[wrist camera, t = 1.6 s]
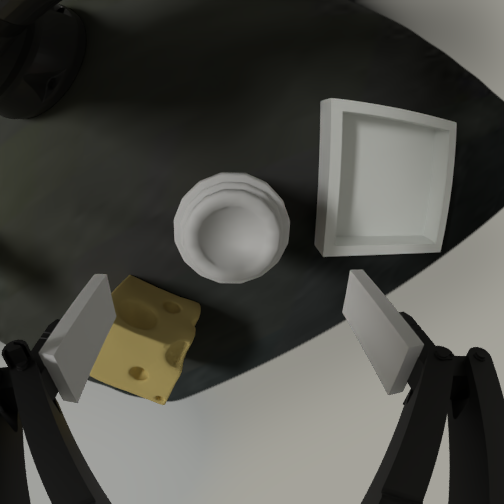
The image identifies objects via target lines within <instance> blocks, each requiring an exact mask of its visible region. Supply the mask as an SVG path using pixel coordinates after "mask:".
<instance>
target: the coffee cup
mask: <svg viewBox="0 0 504 504" xmlns="http://www.w3.org/2000/svg"><path fill="white" fill-rule="evenodd" d="M289 230H290V220H289V217H288V214H287V211H286V208H285V205H284V202H283V200H282V199H281V198H280V196H279V195H278V194H277V193H276V192H275V191H274V190H273V189H272V188H271V187H270V185H269V184H268V183H267V182H265V181H263V180H260V179H258V178H256V177H254V176H252V175H249V174H247V173H237V172H221V173H218V174H216V175H213V176H210V177H208V178H205V179H203V180H200V181H199V182H198V183H197V184H196V185H195V186H194V187H193V188H192V189H191V190H190V191H189V192H188V193H187V194H186V195H185V196H184V197H183V198H182V200H181V203H180V205H179V208H178V210H177V213H176V215H175V218H174V238H175V243H176V245H177V248H178V250H179V252H180V254H181V256H182V258H183V260H184V261H185V262H186V263H187V264H188V265H189V266H190V267H191V268H192V269H193V270H195V271H196V272H197V273H198V274H199V275H200V276H203V277H205V278H208V279H211V280H213V281H216V282H219V283H244V282H246V281H249V280H252V279H255V278H258V277H260V276H262V275H264V274H265V273H266V272H267V271H268V270H269V269H271V268H272V267H273V266H274V265H275V264H277V263H278V261H279V260H280V258H281V256H282V254H283V252H284V250H285V248H286V246H287V245H288V240H289Z"/></svg>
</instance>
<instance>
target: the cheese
mask: <svg viewBox="0 0 504 504" xmlns="http://www.w3.org/2000/svg"><path fill="white" fill-rule="evenodd" d="M111 296H112V300H113V305H114V309H115V313H116V319H115V321H114V323H113V325H112V327H111V329H110V331H109V333H108V335H107V337H106V339H105V341H104V344H103V346H102V348H101V350H100V352H99V354H98V357H97V359H96V361H95V363H94V365H93V368H92V370H91V372H90V376H91V377H93V378H95V379H97V380H99V381H102V382H104V383H106V384H109V385H112V386H114V387H117V388H120V389H122V390H125V391H128V392H130V393H133V394H136V395H138V396H141V397H143V398H146V399H148V400H151V401H153V402H156V403H159V404H162V405H165V403H166V401H167V399H168V397H169V395H170V393H171V391H172V389H173V387H174V385H175V383H176V382H177V380H178V378H179V376H180V374H181V372H182V367H183V361H184V358H185V355H186V353H187V351H188V349H189V347H190V345H191V344H192V342H193V340H194V337H195V331H196V328H195V324H196V322H197V321H198V319H199V316H200V312H201V307H200V304H199V303H197V302H194V301H192V300H188V299H185V298H182V297H179V296H176V295H174V294H172V293H169V292H167V291H165V290H162V289H160V288H158V287H155V286H153V285H151V284H149V283H146V282H144V281H142V280H140V279H138V278H136V277H134V276H132V275H129V276H128V277H127V278H126V279H125V280H124V281H123V282H122V283H121V284H120V285H119V286H118V287H117V288H116V289H115V290H114V291H113V292H112V293H111Z"/></svg>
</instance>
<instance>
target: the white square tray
mask: <svg viewBox="0 0 504 504" xmlns="http://www.w3.org/2000/svg"><path fill="white" fill-rule="evenodd" d="M456 125H457V123H456V122H453V121H449V120H445V119H442V118H438V117H434V116H430V115H426V114H422V113H417V112H413V111H408V110H404V109H399V108H394V107H388V106H383V105H377V104H371V103H365V102H358V101H351V100H343V99H335V98H330V99H326V100H323V101H320V153H319V178H318V197H317V214H316V228H315V241H314V245H315V246H316V248H317V249H318V250H319V252H320V253H321V255H322V256H323V257H330V256H357V255H384V254H409V253H433V252H440V251H441V247H442V242H443V237H444V232H445V227H446V221H447V215H448V209H449V203H450V196H451V188H452V180H453V171H454V160H455V147H456Z"/></svg>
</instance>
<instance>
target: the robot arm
mask: <svg viewBox="0 0 504 504" xmlns="http://www.w3.org/2000/svg"><path fill="white" fill-rule="evenodd" d="M60 1H62V0H0V115H1V116H3V117H6V118H10V119H26V118H32V117H35V116H37V115H40V114H42V113H43V112H45V111H47V110H48V109H49V108H51V107H52V106H53V105H54V104H55V103H57V102H58V100H59V99H60V98H61V97H62V96H63V95H64V94H65V92H66V91H67V90H68V88H69V87H70V85H71V84H72V82H73V81H74V79H75V77H76V75H77V73H78V71H79V68H80V66H81V63H82V60H83V57H84V52H85V46H86V32H85V28H84V25H83V22H82V20H81V19H80V17H79V16H78V15H77V14H76V13H75V12H73V11H72V10H70V9H69V8H67V7H65V6H63V5H60V4H58V3H59V2H60ZM343 314H344V316H345V318H346V319H347V321H348V323H349V325H350V326H351V328H352V330H353V332H354V333H355V335H356V337H357V339H358V340H359V342H360V344H361V346H362V348H363V349H364V351H365V353H366V355H367V357H368V358H369V360H370V362H371V364H372V366H373V368H374V369H375V371H376V373H377V375H378V377H379V379H380V381H381V382H382V384H383V386H384V388H385V390H386V392H387V394H388V395H391V394H395V393H399V392H402V391H403V390H404V388H405V386H406V384H407V382H408V384H409V386H410V387H411V389H410V391H409V393H408V395H407V397H406V399H405V401H404V403H403V405H404V408H403V411H402V413H401V416H400V419H399V422H398V424H397V427H396V429H395V432H394V435H393V437H392V440H391V442H390V444H389V447H388V449H387V451H386V454H385V456H384V458H383V460H382V463H381V465H380V467H379V469H378V471H377V473H376V475H375V477H374V479H373V481H372V484H371V485H370V487H369V489H368V491H367V494H366V495H365V497H364V499H363V501H362V502H361V504H423V499H424V496H425V493H426V491H427V488H428V485H429V482H430V479H431V476H432V472H433V469H434V465H435V462H436V459H437V455H438V451H439V447H440V444H441V440H442V435H443V431H444V427H445V422H446V417H447V415H448V428H449V450H450V480H449V502H448V504H504V398H503V394H502V391H501V387H500V383H499V380H498V377H497V373H496V370H495V367H494V364H493V361H492V358H491V356H490V354H489V353H488V352H487V351H486V350H484V349H482V348H479V347H473V348H471V349H470V350H469V351H468V353H467V355H466V356H454V354H452V352H451V351H450V350H449V349H447V348H445V347H442V346H435V345H434V343H433V342H432V341H431V340H430V338H429V337H428V336H427V335H426V334H425V332H424V331H423V330H421V327H420V326H419V325H417V323H416V321H415V320H414V319H413V318H412V317H411V316H409V315H408V314H406V313H404V312H398V311H397V310H396V309H395V307H394V306H393V305H392V304H391V302H390V301H389V300H388V299H387V298H386V296H385V295H384V294H383V293H382V292H381V290H380V289H379V288H378V287H377V286H376V285H375V283H374V282H373V281H372V280H371V279H370V278H369V276H368V275H367V274H366V273H365V272H364V271H363V270H350V274H349V280H348V285H347V291H346V296H345V301H344V307H343ZM115 319H116V313H115V309H114V305H113V300H112V296H111V292H110V287H109V282H108V278H107V274H94V276H93V277H92V278H91V279H90V281H89V282H88V283H87V285H86V286H85V287H84V289H83V290H82V291H81V292H80V294H79V295H78V297H77V298H76V299H75V301H74V302H73V303H72V305H71V306H70V307H69V309H68V310H67V312H66V313H65V314H64V316H63V317H62V319H61V320H59V319H56V320H55V321H54V322H52V323H51V324H50V325H49V326H48V327H47V329H46V330H45V332H44V333H43V334H42V336H41V339H39V340H38V342H37V343H36V345H35V346H34V348H33V349H32V350H31V351H30V349H29V347H28V345H27V343H26V342H25V341H23V340H15V341H12V342H10V343H8V344H7V345H6V346H5V347H4V349H3V350H2V356H3V358H4V360H5V362H6V364H7V366H8V367H3V368H0V504H30V497H29V491H28V485H27V478H26V469H25V459H24V447H23V429H24V432H25V436H26V439H27V442H28V445H29V448H30V451H31V454H32V457H33V459H34V462H35V465H36V468H37V470H38V473H39V475H40V478H41V480H42V483H43V485H44V487H45V489H46V492H47V494H48V496H49V498H50V500H51V503H52V504H111V502H110V501H109V499H108V498H107V496H106V494H105V493H104V491H103V490H102V488H101V487H100V485H99V483H98V482H97V480H96V478H95V477H94V475H93V473H92V472H91V470H90V468H89V466H88V464H87V463H86V461H85V459H84V457H83V455H82V453H81V451H80V449H79V448H78V446H77V444H76V442H75V440H74V438H73V436H72V434H71V431H70V429H69V427H68V425H67V423H66V420H65V418H64V416H63V414H62V411H61V409H60V406H59V404H58V402H57V400H56V398H55V397H56V395H57V393H58V392H59V394H60V395H61V397H62V399H63V400H65V401H69V402H75V403H78V401H79V398H80V396H81V394H82V391H83V389H84V386H85V384H86V382H87V379H88V377H89V375H90V372H91V370H92V368H93V365H94V363H95V361H96V359H97V357H98V354H99V352H100V350H101V348H102V346H103V344H104V341H105V339H106V337H107V335H108V333H109V331H110V329H111V327H112V325H113V323H114V321H115Z"/></svg>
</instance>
